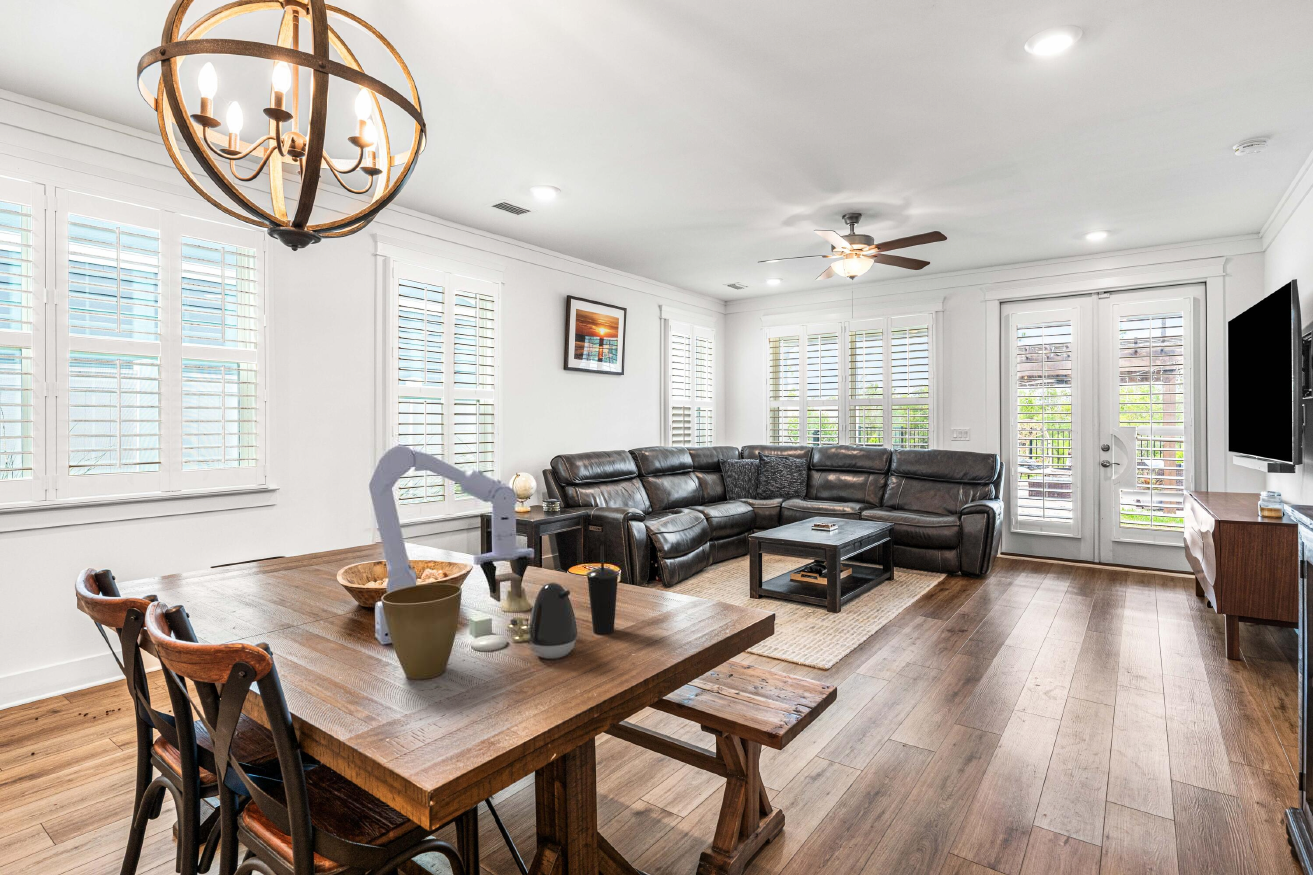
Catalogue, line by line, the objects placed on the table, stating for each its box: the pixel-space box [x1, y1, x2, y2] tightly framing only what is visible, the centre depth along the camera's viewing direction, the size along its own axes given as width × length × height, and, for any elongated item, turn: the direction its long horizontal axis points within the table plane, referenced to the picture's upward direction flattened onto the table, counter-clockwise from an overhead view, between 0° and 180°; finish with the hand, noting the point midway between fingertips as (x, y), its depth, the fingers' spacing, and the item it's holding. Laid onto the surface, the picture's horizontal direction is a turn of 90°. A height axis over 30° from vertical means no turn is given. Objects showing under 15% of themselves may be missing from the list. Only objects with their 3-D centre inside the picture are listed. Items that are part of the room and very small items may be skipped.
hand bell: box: [500, 547, 533, 614], centre depth 173 cm, size 8×8×16 cm
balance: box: [507, 616, 530, 644], centre depth 147 cm, size 4×11×6 cm, turn 34°
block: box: [468, 613, 493, 639], centre depth 152 cm, size 4×4×4 cm
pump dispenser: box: [528, 582, 578, 660], centre depth 137 cm, size 10×10×15 cm
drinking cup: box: [585, 545, 620, 636], centre depth 152 cm, size 8×8×20 cm
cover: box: [489, 572, 522, 603], centre depth 159 cm, size 6×6×5 cm
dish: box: [470, 634, 508, 652], centre depth 144 cm, size 8×8×1 cm
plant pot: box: [380, 583, 463, 681], centre depth 128 cm, size 15×15×16 cm
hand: (505, 590), depth 159 cm, fingers closed on cover, 6 cm apart
